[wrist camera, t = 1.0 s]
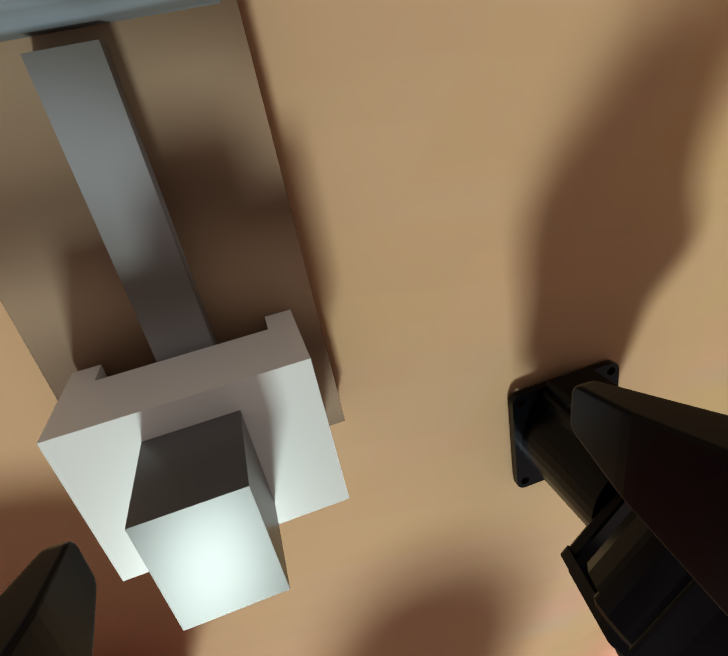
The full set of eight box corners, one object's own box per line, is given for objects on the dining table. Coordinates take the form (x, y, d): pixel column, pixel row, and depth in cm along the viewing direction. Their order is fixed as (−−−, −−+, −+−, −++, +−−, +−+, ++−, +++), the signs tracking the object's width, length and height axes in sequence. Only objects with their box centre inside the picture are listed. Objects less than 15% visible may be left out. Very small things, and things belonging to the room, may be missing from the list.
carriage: (324, 431, 22) (378, 578, 15) (137, 494, 20) (104, 689, 14) (289, 309, 19) (336, 421, 12) (71, 373, 18) (-12, 539, 11)
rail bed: (337, 402, 23) (375, 488, 18) (119, 475, 22) (92, 592, 16) (180, -198, 14) (165, -382, 9) (-227, -155, 12) (-551, -350, 7)
